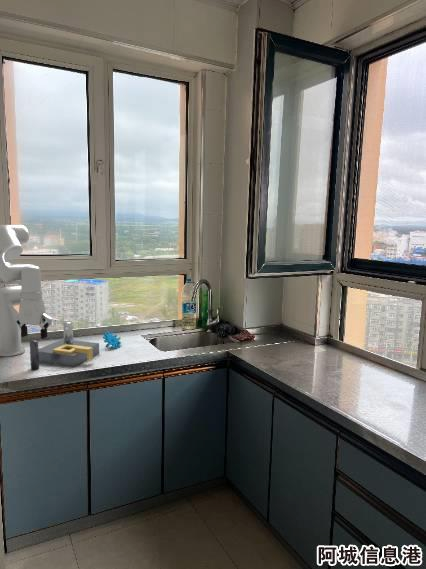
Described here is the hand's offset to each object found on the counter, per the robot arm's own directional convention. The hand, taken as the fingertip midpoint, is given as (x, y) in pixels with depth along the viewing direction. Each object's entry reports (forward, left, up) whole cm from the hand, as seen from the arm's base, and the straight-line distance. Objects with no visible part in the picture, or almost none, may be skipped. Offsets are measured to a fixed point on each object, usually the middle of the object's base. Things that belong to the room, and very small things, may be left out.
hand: (34, 337), depth 176 cm
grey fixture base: (+3, +17, -14) cm, 22 cm away
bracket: (+10, +13, -12) cm, 20 cm away
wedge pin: (-1, 0, -14) cm, 14 cm away
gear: (+14, +38, -14) cm, 43 cm away
